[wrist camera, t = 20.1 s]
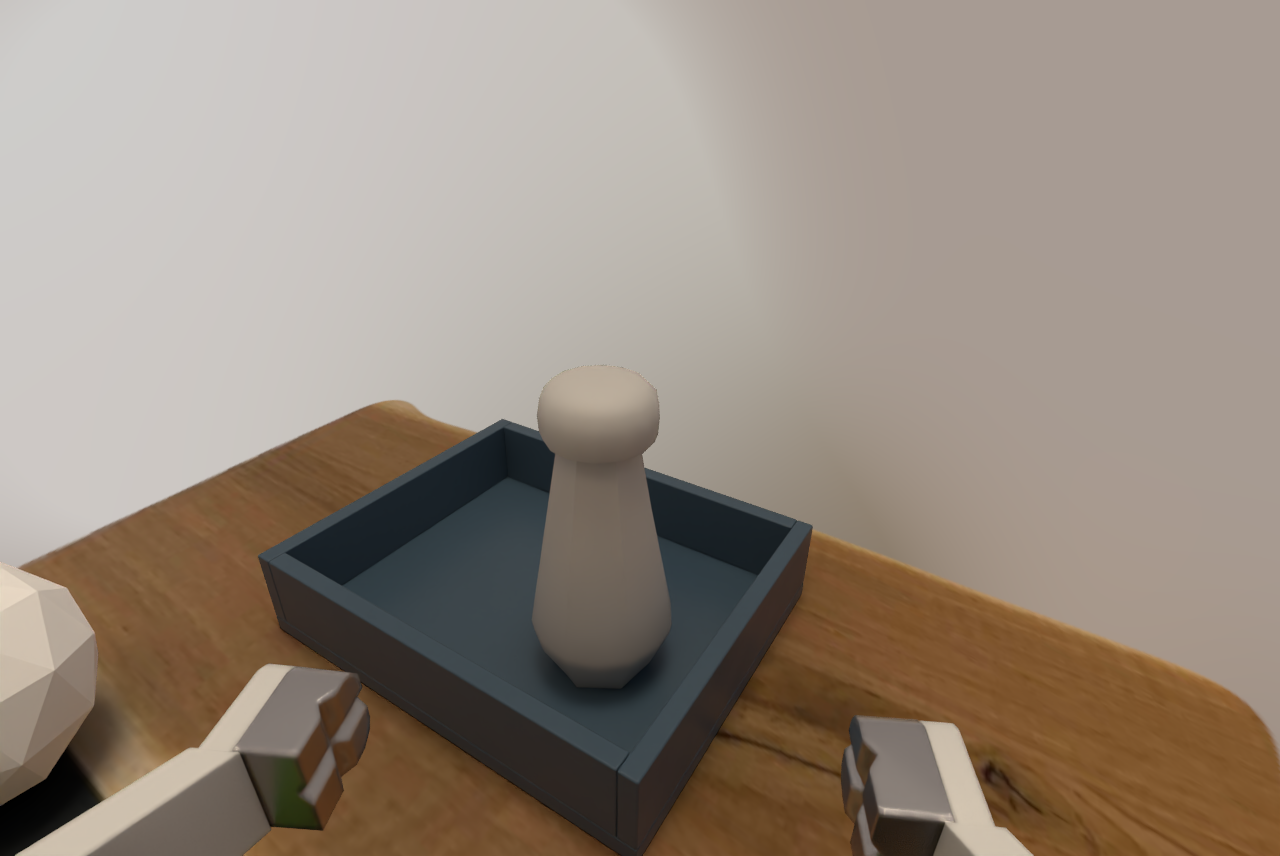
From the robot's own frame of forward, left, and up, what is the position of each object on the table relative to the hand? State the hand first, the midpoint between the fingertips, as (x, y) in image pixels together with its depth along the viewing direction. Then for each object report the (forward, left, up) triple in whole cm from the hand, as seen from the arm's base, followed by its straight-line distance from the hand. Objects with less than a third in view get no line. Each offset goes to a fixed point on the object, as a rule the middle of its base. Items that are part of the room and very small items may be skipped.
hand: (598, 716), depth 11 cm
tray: (+5, -17, -14) cm, 22 cm away
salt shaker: (+2, -14, -13) cm, 19 cm away
